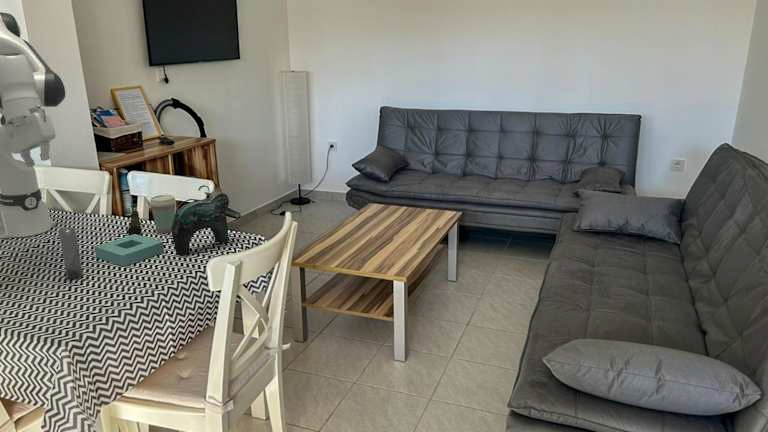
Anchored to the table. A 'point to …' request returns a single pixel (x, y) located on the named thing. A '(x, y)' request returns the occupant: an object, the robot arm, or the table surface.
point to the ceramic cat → (200, 219)
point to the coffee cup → (163, 212)
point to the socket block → (129, 250)
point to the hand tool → (134, 224)
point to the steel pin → (71, 253)
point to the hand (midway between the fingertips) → (38, 163)
